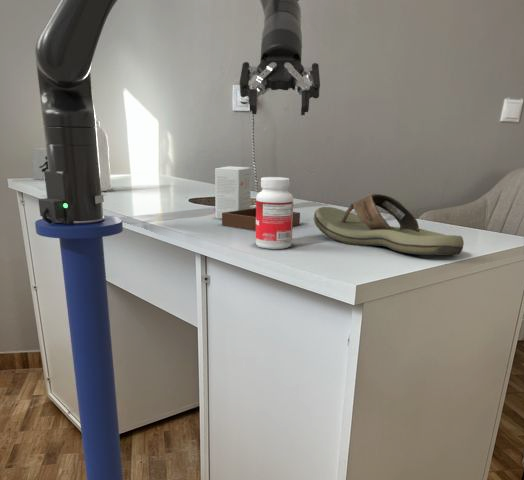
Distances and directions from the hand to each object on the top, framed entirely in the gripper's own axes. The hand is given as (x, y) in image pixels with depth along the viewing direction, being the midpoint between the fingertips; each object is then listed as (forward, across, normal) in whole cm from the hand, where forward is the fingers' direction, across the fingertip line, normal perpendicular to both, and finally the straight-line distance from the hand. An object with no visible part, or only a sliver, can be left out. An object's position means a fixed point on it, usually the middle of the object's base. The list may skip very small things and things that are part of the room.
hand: (278, 111), depth 97 cm
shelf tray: (+8, -3, +22) cm, 24 cm away
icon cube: (-56, -83, +86) cm, 132 cm away
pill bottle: (+24, 0, +7) cm, 25 cm away
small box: (+1, -10, +29) cm, 31 cm away
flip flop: (+21, +19, +10) cm, 30 cm away
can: (-31, -58, +61) cm, 89 cm away
